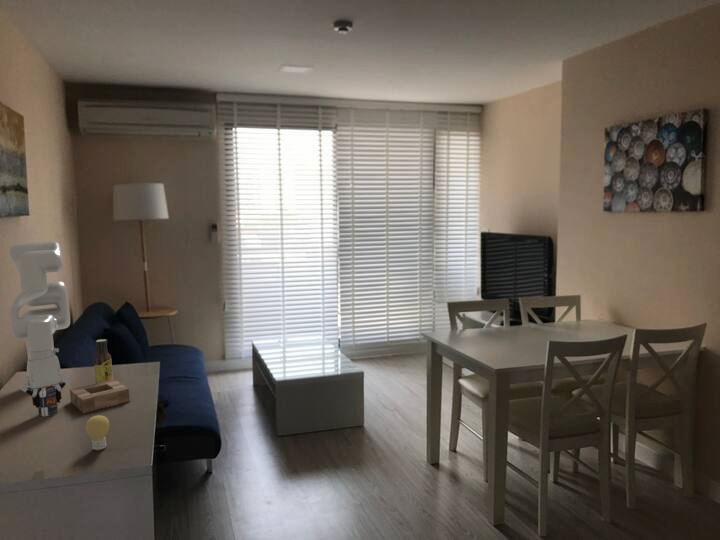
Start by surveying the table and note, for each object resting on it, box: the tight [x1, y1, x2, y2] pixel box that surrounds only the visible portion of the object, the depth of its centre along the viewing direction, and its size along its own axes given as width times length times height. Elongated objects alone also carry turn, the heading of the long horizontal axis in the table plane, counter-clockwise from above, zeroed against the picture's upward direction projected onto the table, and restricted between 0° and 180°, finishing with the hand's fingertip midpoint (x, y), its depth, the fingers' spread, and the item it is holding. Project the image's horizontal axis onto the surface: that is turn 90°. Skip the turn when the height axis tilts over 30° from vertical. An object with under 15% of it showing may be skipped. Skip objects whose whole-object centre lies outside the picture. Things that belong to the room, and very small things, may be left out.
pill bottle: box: [37, 386, 59, 417], centre depth 200 cm, size 6×6×11 cm
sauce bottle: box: [93, 338, 114, 384], centre depth 224 cm, size 6×6×20 cm
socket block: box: [69, 378, 131, 414], centre depth 210 cm, size 16×16×5 cm
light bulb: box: [85, 414, 110, 451], centre depth 168 cm, size 6×6×10 cm
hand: (47, 403), depth 200 cm, fingers closed on pill bottle, 6 cm apart
